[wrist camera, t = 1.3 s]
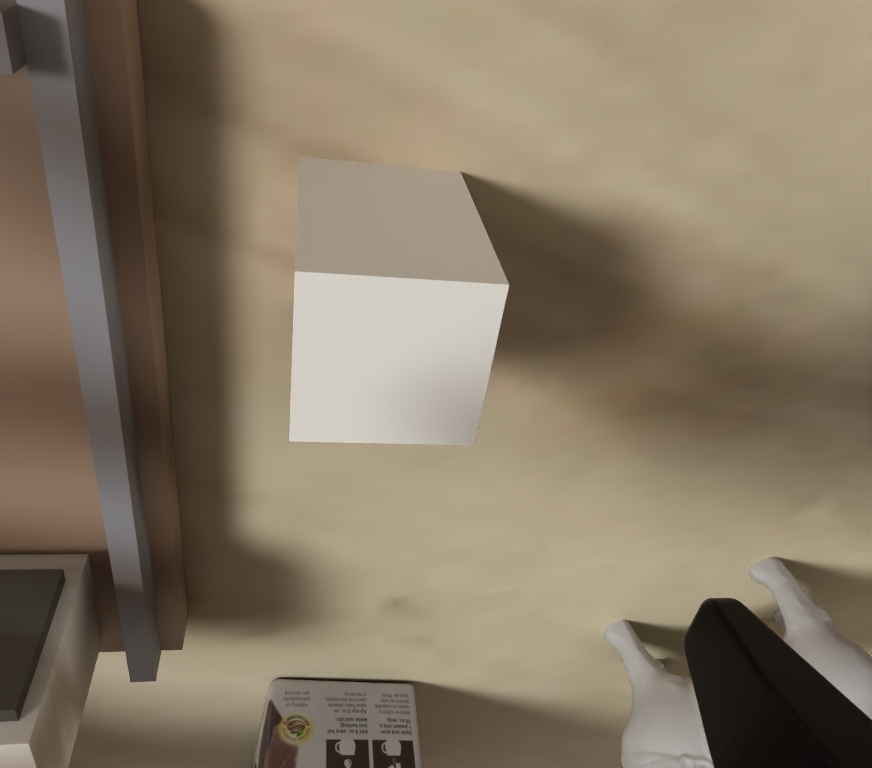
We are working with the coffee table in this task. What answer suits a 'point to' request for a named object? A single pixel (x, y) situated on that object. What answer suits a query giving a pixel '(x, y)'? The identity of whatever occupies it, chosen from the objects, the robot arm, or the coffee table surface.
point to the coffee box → (338, 726)
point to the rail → (79, 375)
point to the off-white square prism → (391, 306)
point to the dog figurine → (675, 697)
